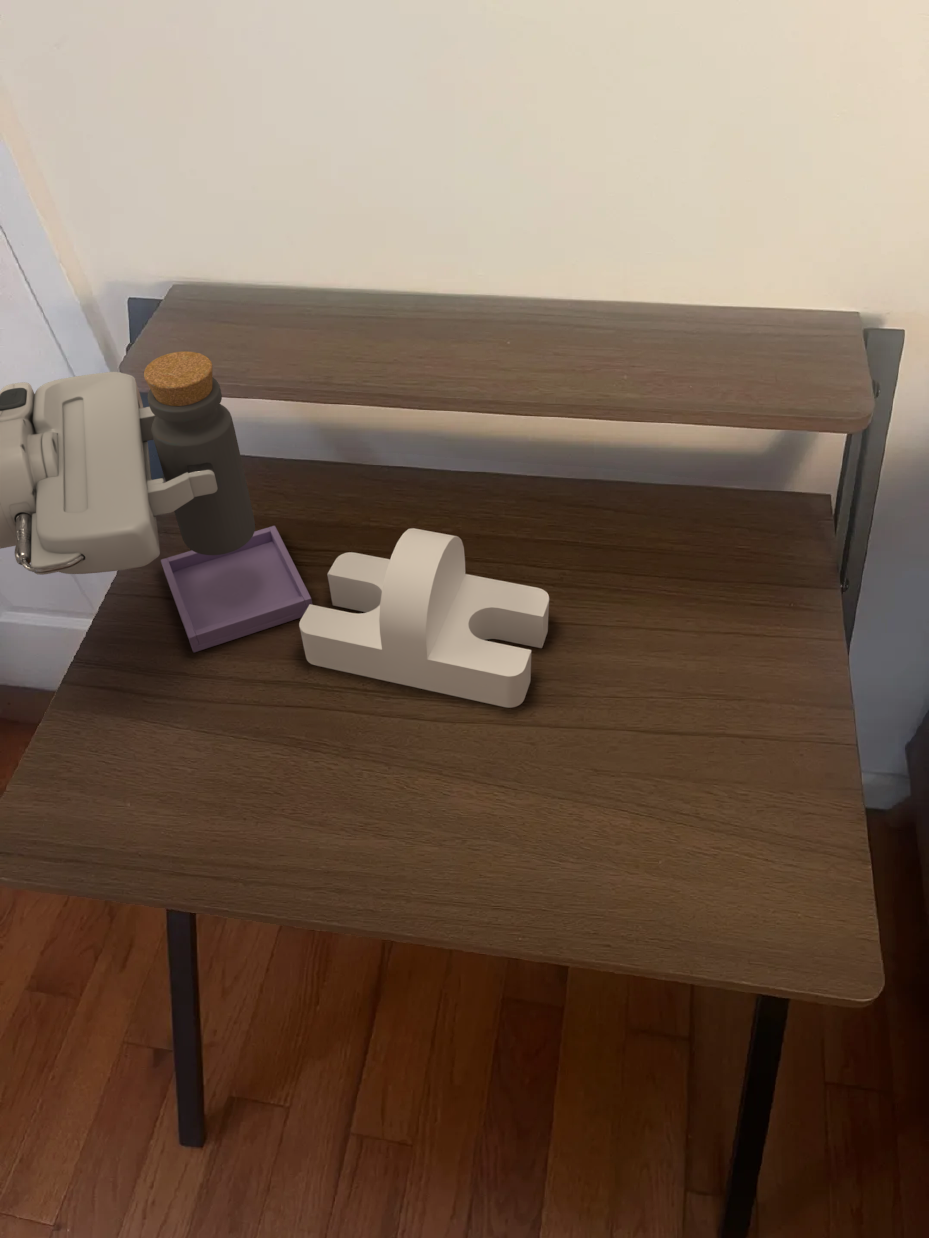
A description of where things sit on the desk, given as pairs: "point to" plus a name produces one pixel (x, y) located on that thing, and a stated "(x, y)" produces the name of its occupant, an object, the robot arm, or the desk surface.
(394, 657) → the white slotted bracket
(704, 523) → the desk surface
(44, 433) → the robot arm
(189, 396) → the bottle
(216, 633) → the tray
